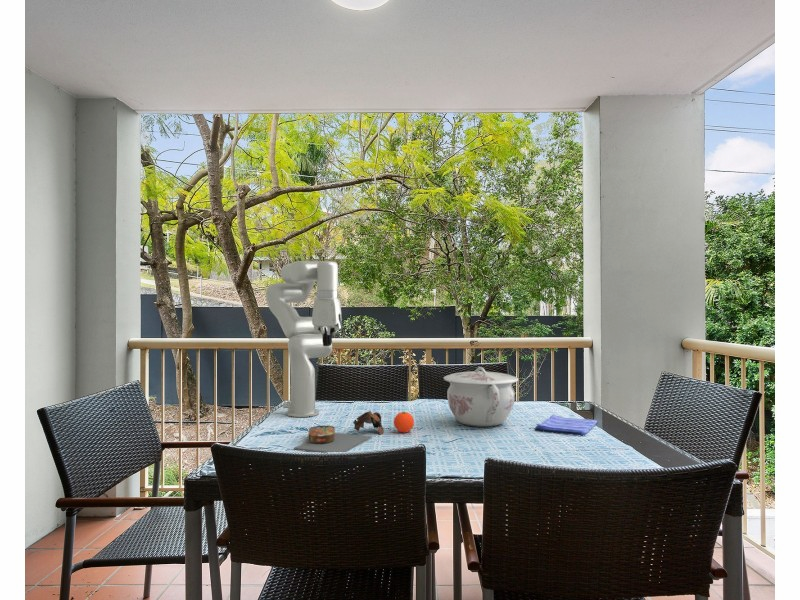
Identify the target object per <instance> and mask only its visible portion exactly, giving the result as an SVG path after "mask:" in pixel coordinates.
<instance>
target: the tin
mask: <svg viewBox="0 0 800 600" xmlns="http://www.w3.org/2000/svg"><path fill="white" fill-rule="evenodd" d="M335 431H336V427H334V426H332V425H316V426H311V427H309V429H308V434H307V435H308V441H309V442H311V443H330V442H332V441H334V433H336V432H335Z"/></svg>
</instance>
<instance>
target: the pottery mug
mask: <svg viewBox="0 0 800 600" xmlns="http://www.w3.org/2000/svg"><path fill="white" fill-rule="evenodd" d="M352 423H353V424H354V428H353V429H354V430H355V431H356V432H360V429H361V428H362V429H364V427H365V424H372V426H373V428H375V429H377V432H378V434H379V435H382V434H383V433H384V431H385V430H384V428H383V424H382V415H381V414H380V412H374V413H373V412H372V411H371V410H370V411H369V410H368V411H366V412H364V413H362V414H361V415H359V416H358V417H357V418H356V419H354V421H353V422H352Z"/></svg>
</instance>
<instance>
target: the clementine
mask: <svg viewBox="0 0 800 600" xmlns="http://www.w3.org/2000/svg"><path fill="white" fill-rule="evenodd" d="M414 424H415V420H414V418H413V415H412V414H410V413H409V412H407V411H401V412H399V413H397V414H396V416H394V419H393V425H394V428H395V429H396V430H397V431H398V432H399V433H408V432H410V431H411V430H412V429H413V427H414Z"/></svg>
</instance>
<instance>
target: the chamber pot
mask: <svg viewBox="0 0 800 600" xmlns="http://www.w3.org/2000/svg"><path fill="white" fill-rule="evenodd" d="M443 380H444V381H446V382H449V387H448V388H447V402H448V407H449V409H450V411H451V413H452V415H453V416H454V418H455V420H456V421H457V422H459V423H461V424H463V425H465V426H468V425H469V427H473V426H477V428H491V426H492V427H496V426H498V425H501V424H504V423H505V422H506V421H507V419H508V417H509V415H510V414H511V413H512V411H513V409H514V404H515V397H516V394H515V393H516V392H515V390H514V388H513V386H512V385H513V384H515V383H518V381H519V378H518V377H517V376H515V375H511V374H508V373H502V372H496V371H495V372H494V371H486V370H485V368H484V367H483V366H478V367H477V368H476V369H475V370H474V371H473V370H472V371H463V372H461V371H460V372H454V373H450V374H448V375H445V376H443Z"/></svg>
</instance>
